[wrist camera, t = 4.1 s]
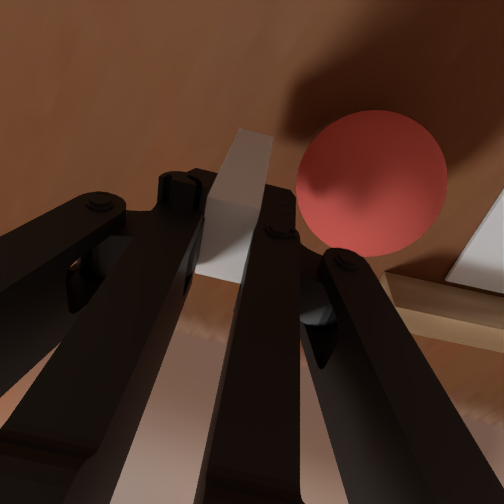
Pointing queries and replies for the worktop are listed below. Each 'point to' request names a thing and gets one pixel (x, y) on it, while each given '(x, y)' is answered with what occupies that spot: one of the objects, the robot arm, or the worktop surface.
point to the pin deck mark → (483, 254)
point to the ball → (372, 182)
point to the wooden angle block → (447, 311)
